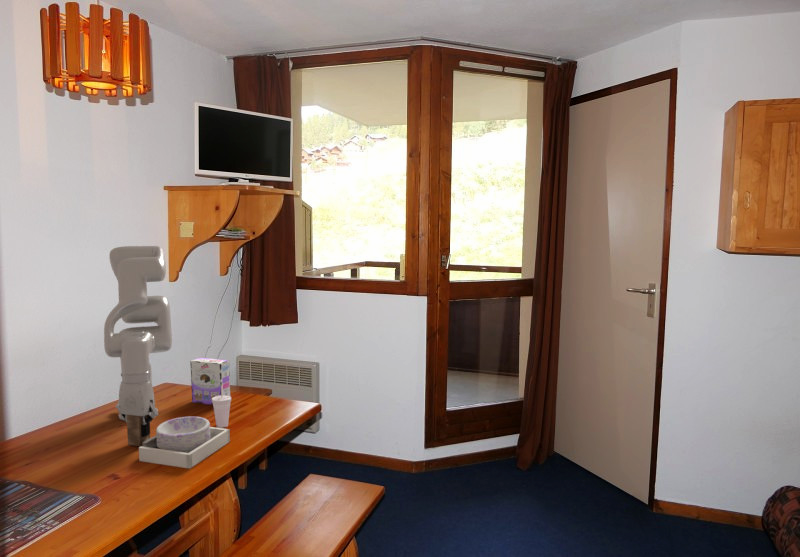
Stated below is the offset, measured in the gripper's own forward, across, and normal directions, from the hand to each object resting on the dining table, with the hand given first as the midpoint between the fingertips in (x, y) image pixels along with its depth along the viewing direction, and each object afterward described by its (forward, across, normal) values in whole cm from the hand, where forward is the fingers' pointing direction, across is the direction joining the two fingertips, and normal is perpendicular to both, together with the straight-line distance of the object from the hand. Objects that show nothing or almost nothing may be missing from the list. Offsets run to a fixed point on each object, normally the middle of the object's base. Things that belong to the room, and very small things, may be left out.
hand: (138, 433), depth 175 cm
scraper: (+3, +3, 0) cm, 4 cm away
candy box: (+4, -2, +41) cm, 41 cm away
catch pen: (+3, +17, 0) cm, 18 cm away
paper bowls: (+3, +16, 0) cm, 17 cm away
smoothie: (+3, +16, +21) cm, 26 cm away
